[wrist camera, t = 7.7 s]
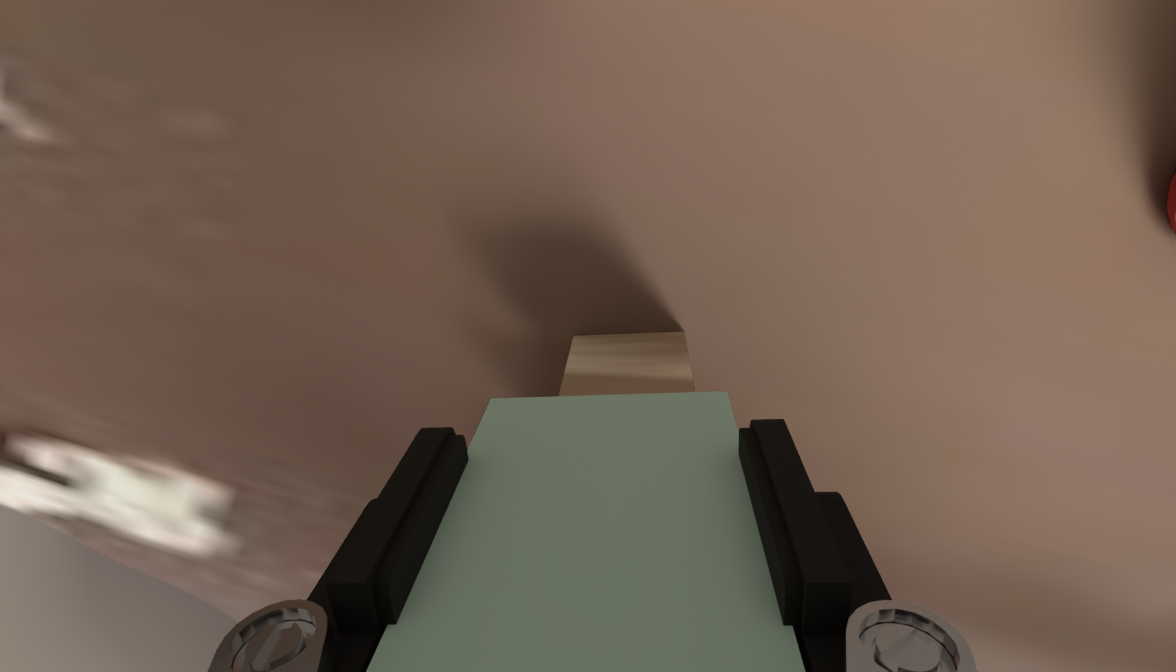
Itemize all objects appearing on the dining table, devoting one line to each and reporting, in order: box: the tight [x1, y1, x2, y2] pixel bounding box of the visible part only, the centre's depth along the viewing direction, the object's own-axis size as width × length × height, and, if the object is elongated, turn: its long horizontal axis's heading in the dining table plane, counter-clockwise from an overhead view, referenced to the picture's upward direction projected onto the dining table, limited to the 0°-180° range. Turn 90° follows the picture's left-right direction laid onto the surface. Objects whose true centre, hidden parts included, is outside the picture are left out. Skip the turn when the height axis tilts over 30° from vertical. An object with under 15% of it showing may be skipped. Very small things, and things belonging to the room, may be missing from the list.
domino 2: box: [366, 391, 805, 672], centre depth 10 cm, size 2×5×9 cm, turn 94°
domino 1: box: [559, 332, 695, 396], centre depth 25 cm, size 2×5×9 cm, turn 94°
